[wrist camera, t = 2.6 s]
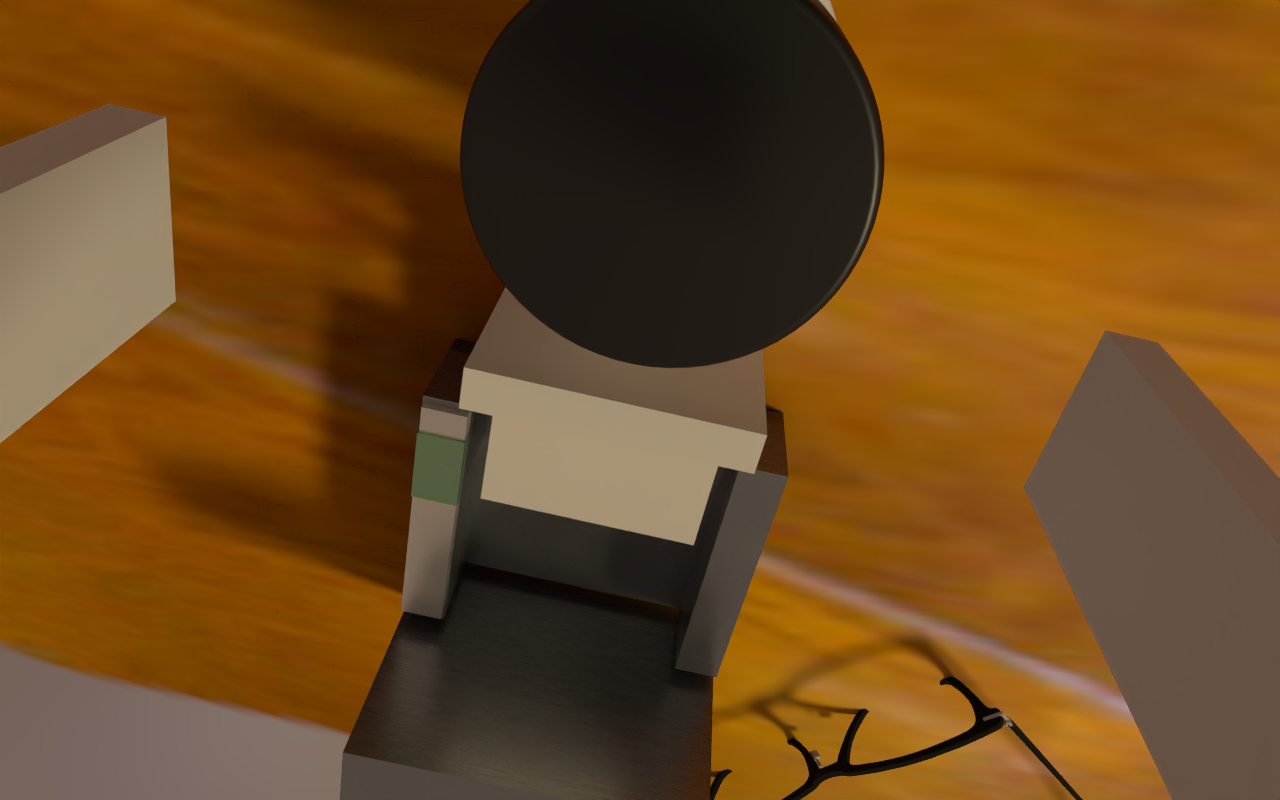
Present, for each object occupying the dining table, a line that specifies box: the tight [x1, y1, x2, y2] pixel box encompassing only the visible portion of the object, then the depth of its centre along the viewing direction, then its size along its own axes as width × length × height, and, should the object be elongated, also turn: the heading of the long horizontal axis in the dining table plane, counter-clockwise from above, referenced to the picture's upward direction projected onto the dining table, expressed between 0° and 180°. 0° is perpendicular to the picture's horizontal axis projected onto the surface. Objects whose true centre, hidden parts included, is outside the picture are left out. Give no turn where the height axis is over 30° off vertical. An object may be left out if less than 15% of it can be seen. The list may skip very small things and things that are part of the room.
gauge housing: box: [340, 339, 788, 800], centre depth 32 cm, size 13×12×10 cm
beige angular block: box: [459, 287, 767, 545], centre depth 29 cm, size 8×8×8 cm
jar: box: [460, 0, 884, 368], centre depth 23 cm, size 9×8×12 cm
